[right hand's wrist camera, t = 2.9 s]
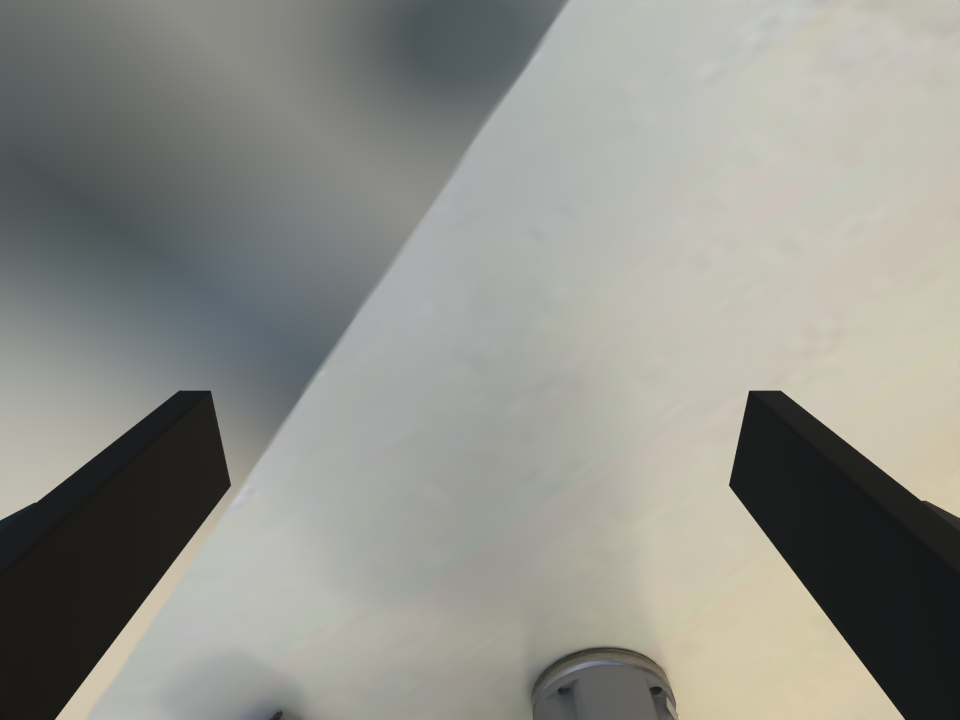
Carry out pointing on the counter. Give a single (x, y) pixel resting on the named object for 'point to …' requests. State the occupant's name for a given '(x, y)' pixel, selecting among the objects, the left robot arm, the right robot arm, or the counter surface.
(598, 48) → the counter surface
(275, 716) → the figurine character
